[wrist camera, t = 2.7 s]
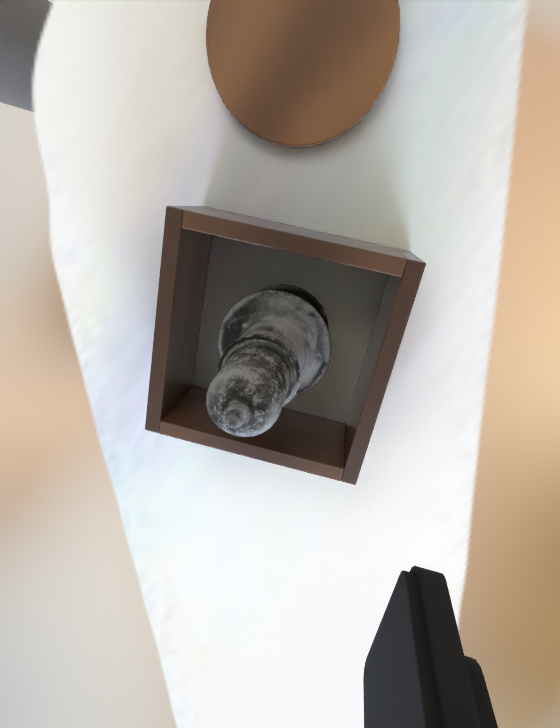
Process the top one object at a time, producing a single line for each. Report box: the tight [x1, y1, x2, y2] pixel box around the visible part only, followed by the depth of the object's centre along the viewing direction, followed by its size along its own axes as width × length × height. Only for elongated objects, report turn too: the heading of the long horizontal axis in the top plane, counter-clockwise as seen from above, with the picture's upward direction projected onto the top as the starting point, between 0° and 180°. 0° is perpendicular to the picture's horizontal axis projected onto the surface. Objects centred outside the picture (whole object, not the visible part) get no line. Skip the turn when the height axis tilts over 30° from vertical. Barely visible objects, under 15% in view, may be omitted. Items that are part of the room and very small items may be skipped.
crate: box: [145, 206, 426, 485], centre depth 23 cm, size 12×12×5 cm
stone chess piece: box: [206, 285, 331, 437], centre depth 20 cm, size 6×6×12 cm
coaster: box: [206, 0, 400, 147], centre depth 20 cm, size 9×9×1 cm
